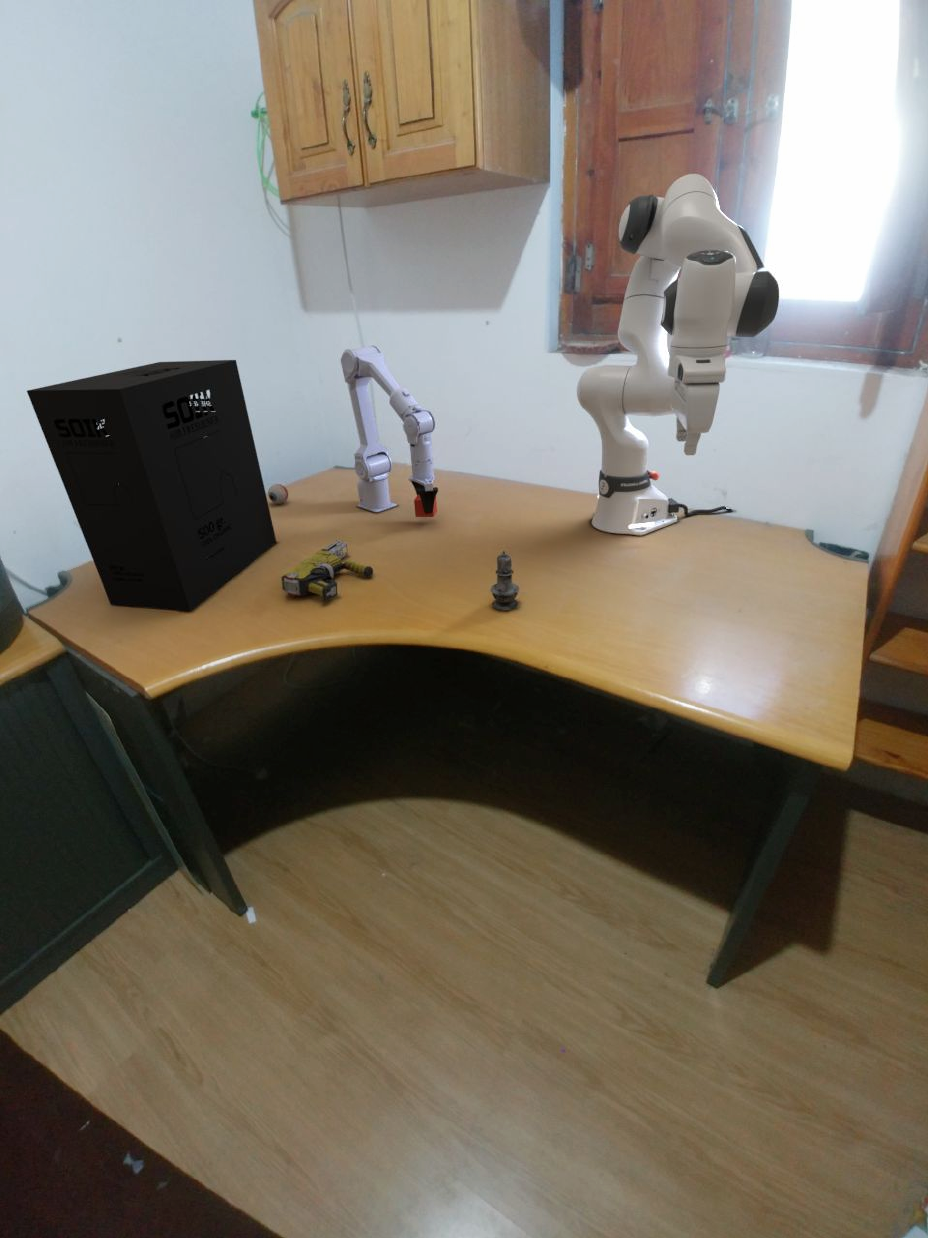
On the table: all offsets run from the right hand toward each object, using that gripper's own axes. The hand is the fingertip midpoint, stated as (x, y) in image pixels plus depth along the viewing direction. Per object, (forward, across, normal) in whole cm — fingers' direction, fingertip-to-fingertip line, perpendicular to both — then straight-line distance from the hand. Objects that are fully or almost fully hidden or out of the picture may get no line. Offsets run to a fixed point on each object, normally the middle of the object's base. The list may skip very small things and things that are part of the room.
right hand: (685, 447), depth 108 cm
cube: (+28, -41, -59) cm, 77 cm away
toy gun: (+31, -5, -72) cm, 78 cm away
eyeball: (+31, -56, -109) cm, 126 cm away
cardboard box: (+31, -8, -108) cm, 112 cm away
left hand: (+26, -41, -58) cm, 76 cm away
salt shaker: (+31, +5, -32) cm, 45 cm away
